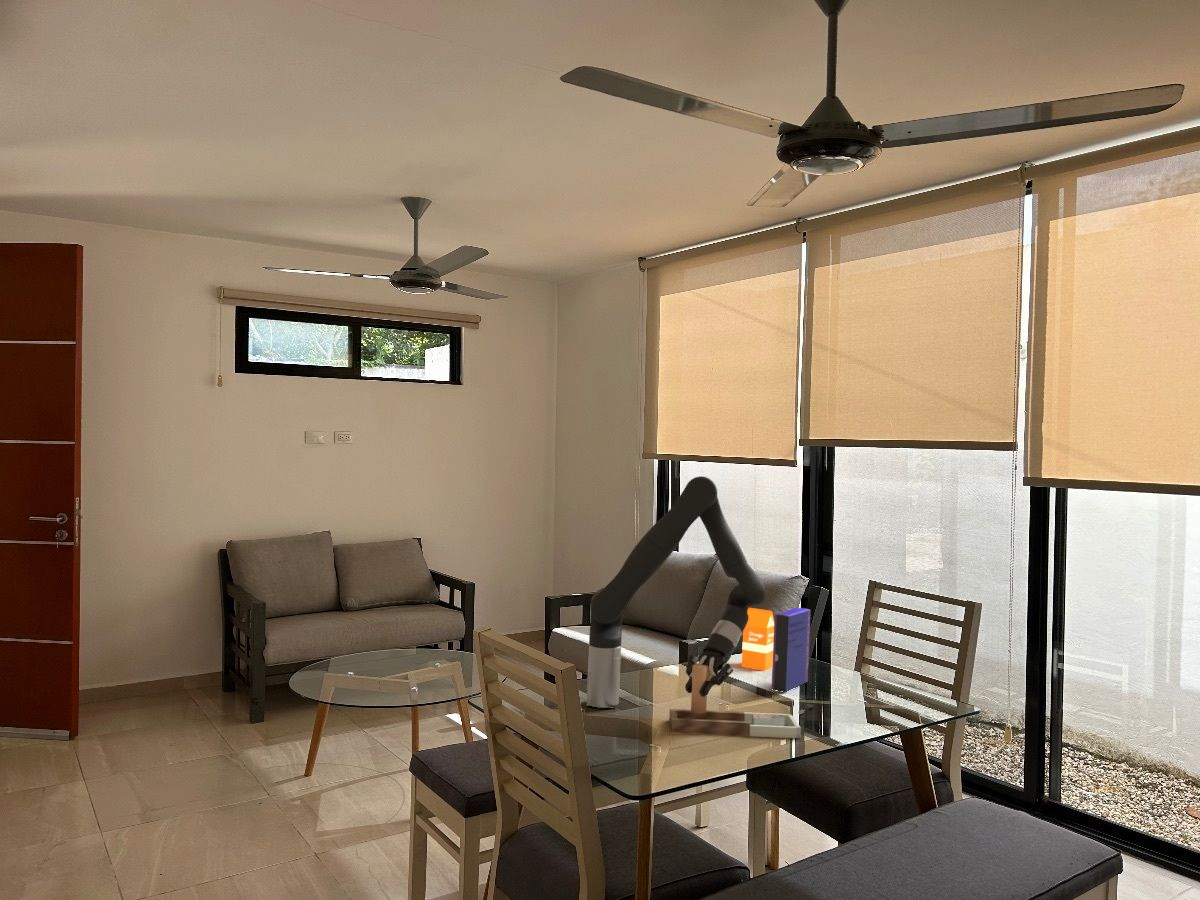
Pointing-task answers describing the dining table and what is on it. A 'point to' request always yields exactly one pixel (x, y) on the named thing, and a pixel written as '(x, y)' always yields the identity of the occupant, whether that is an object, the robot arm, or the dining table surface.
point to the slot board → (709, 722)
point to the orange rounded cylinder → (698, 688)
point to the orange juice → (758, 640)
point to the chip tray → (775, 727)
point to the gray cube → (776, 720)
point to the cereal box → (790, 649)
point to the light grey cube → (760, 719)
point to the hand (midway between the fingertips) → (694, 692)
